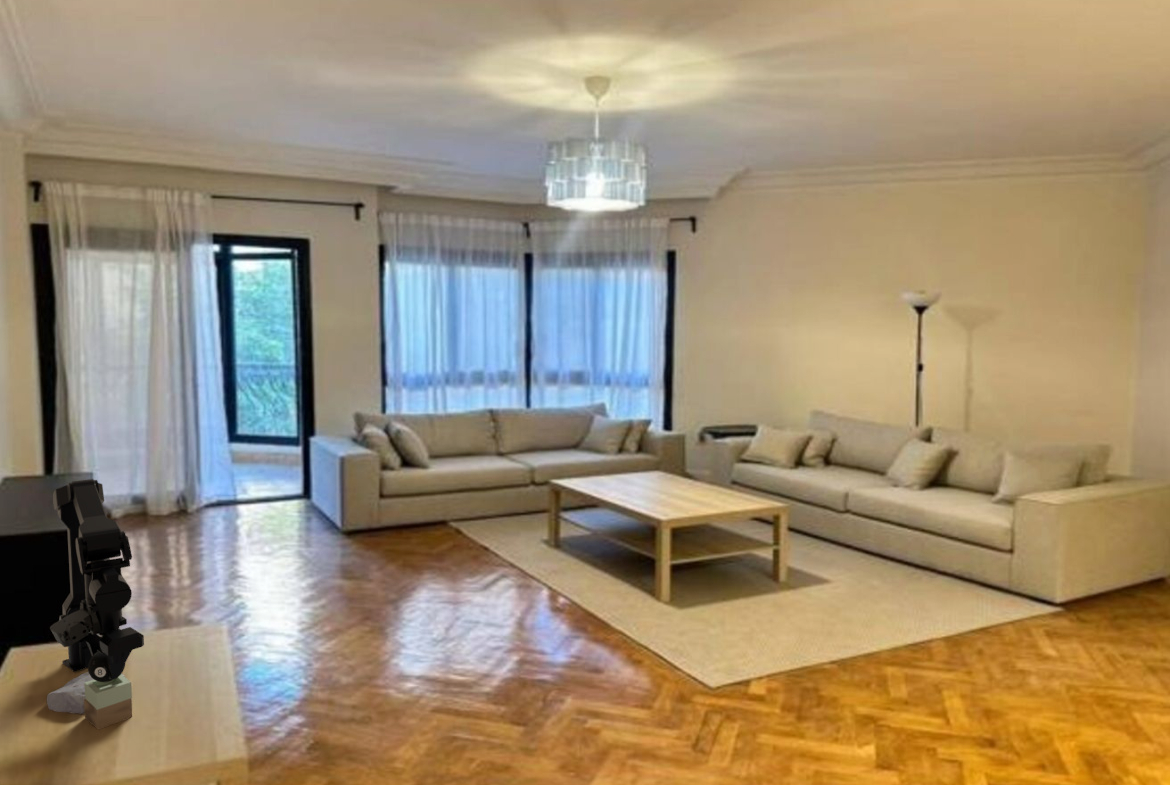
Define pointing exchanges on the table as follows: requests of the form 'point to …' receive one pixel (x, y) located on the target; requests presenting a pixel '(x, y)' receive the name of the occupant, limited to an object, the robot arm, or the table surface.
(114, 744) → the table surface
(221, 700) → the table surface
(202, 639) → the table surface
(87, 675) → the stone block
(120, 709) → the tower base
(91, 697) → the tower cap
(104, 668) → the billiard ball
